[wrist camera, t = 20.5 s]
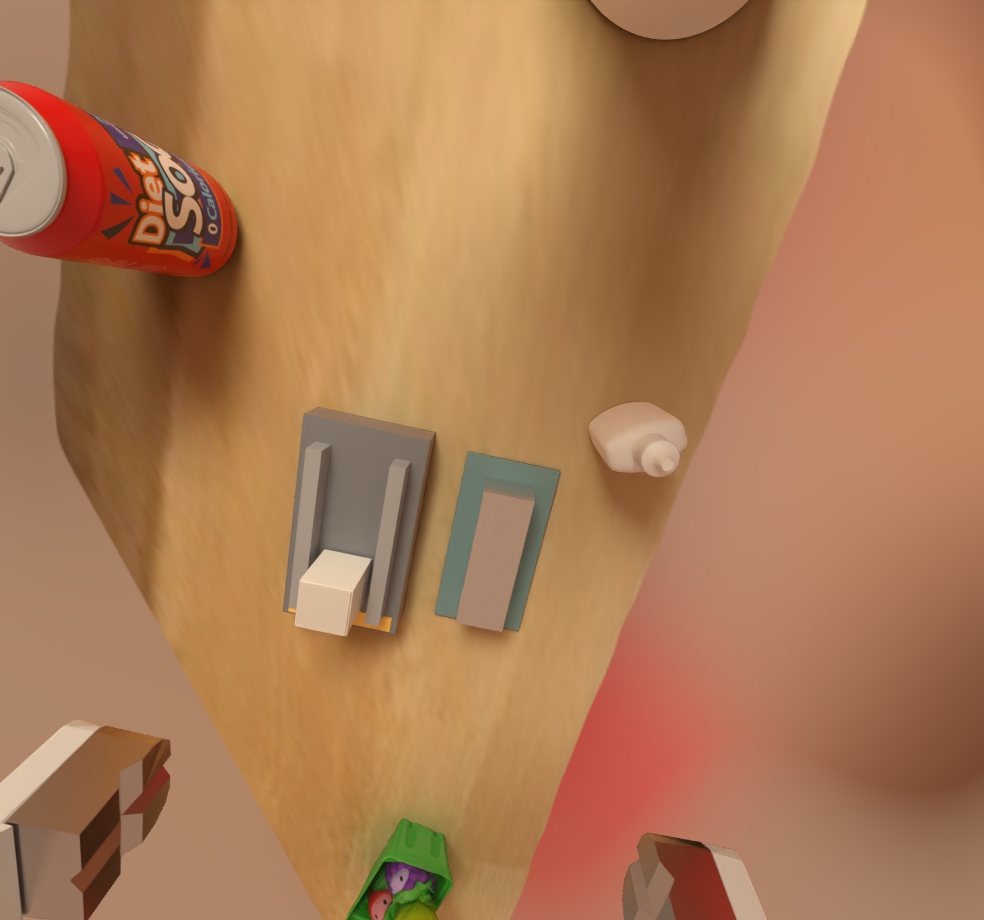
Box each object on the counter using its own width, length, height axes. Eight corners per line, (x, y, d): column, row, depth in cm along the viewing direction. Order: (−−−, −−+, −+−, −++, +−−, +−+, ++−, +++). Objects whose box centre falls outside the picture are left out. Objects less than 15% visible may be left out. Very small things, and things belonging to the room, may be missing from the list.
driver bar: (486, 475, 41) (484, 491, 38) (532, 485, 42) (534, 501, 38) (460, 596, 45) (455, 622, 41) (502, 605, 45) (502, 632, 41)
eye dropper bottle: (648, 455, 41) (704, 507, 29) (583, 444, 41) (612, 492, 29) (662, 404, 40) (725, 437, 28) (594, 392, 40) (629, 422, 28)
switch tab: (324, 549, 41) (298, 581, 36) (371, 558, 41) (352, 592, 36) (319, 590, 42) (293, 627, 37) (365, 599, 42) (345, 637, 37)
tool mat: (468, 451, 41) (467, 452, 41) (560, 470, 41) (560, 471, 41) (434, 612, 46) (434, 614, 45) (518, 629, 46) (518, 631, 45)
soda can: (124, 231, 37) (-119, 173, 23) (174, 141, 36) (-55, 17, 21) (210, 300, 39) (31, 286, 24) (263, 216, 37) (104, 148, 22)
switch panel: (318, 407, 41) (292, 418, 36) (435, 432, 41) (425, 447, 36) (297, 593, 46) (272, 625, 41) (401, 614, 46) (389, 648, 41)
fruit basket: (396, 804, 52) (367, 931, 41) (470, 835, 53) (460, 966, 42) (356, 872, 55) (319, 1006, 44) (427, 899, 56) (407, 1038, 45)
